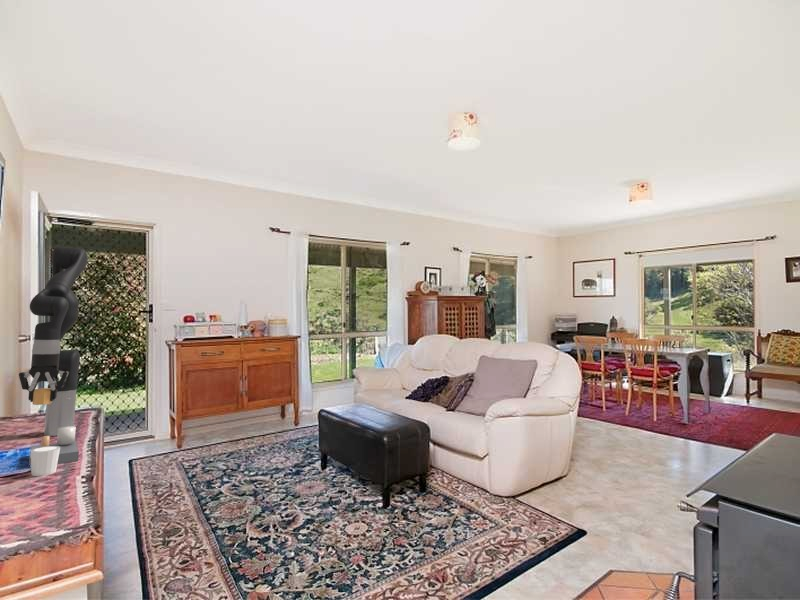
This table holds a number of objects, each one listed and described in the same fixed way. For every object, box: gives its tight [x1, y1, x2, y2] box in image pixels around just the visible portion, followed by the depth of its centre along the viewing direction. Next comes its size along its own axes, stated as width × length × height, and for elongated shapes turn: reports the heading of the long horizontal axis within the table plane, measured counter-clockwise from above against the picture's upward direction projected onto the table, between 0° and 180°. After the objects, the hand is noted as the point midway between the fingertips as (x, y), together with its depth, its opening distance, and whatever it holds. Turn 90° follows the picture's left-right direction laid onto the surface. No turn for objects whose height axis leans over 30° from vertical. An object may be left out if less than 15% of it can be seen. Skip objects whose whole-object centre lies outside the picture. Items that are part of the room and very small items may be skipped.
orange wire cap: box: [32, 387, 52, 406], centre depth 149 cm, size 5×5×5 cm
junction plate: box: [28, 425, 80, 466], centre depth 139 cm, size 16×12×9 cm
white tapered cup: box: [30, 446, 60, 477], centre depth 126 cm, size 7×7×7 cm
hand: (42, 401), depth 149 cm, fingers closed on orange wire cap, 4 cm apart
